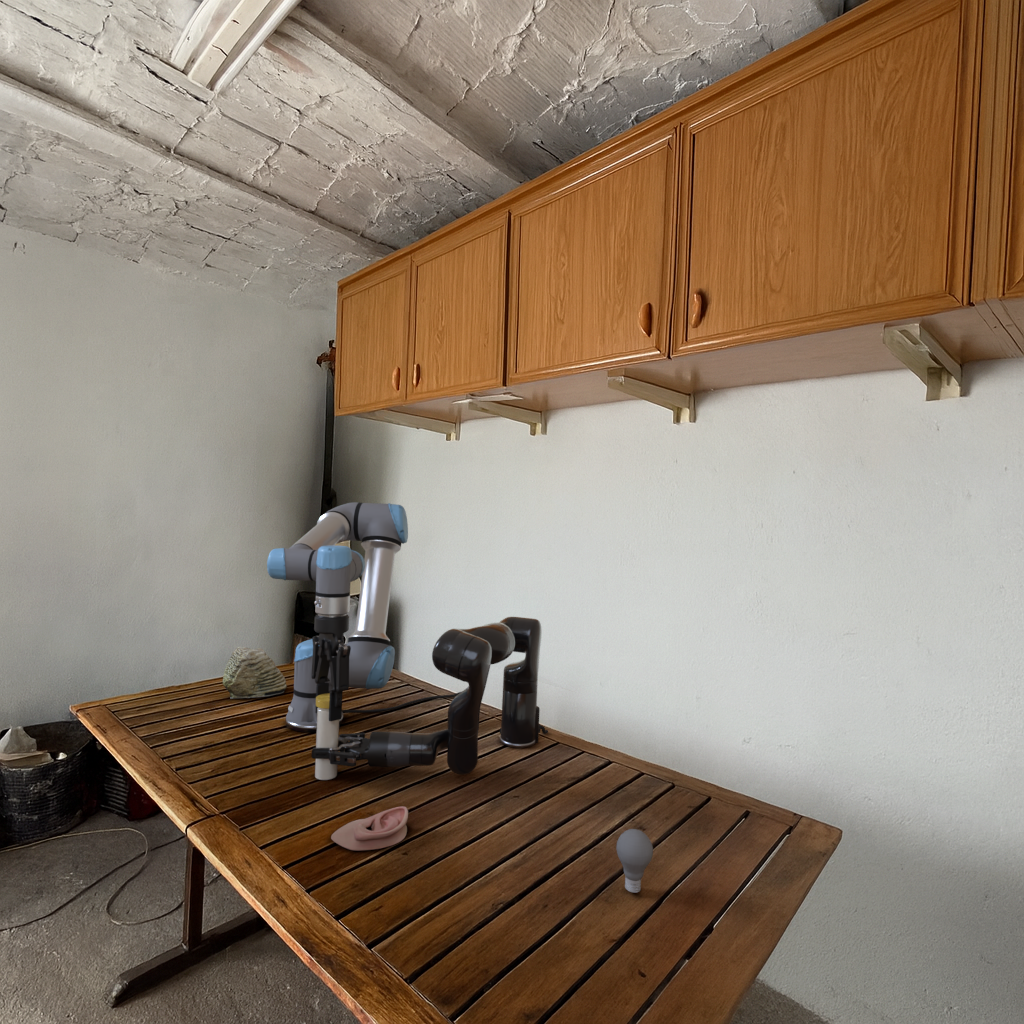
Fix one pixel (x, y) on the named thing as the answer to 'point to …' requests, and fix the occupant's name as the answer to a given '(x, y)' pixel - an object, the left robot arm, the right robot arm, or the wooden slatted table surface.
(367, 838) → the anatomical model
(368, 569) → the left robot arm
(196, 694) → the wooden slatted table surface
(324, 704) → the lid
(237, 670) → the fossil
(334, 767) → the jar
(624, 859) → the light bulb
